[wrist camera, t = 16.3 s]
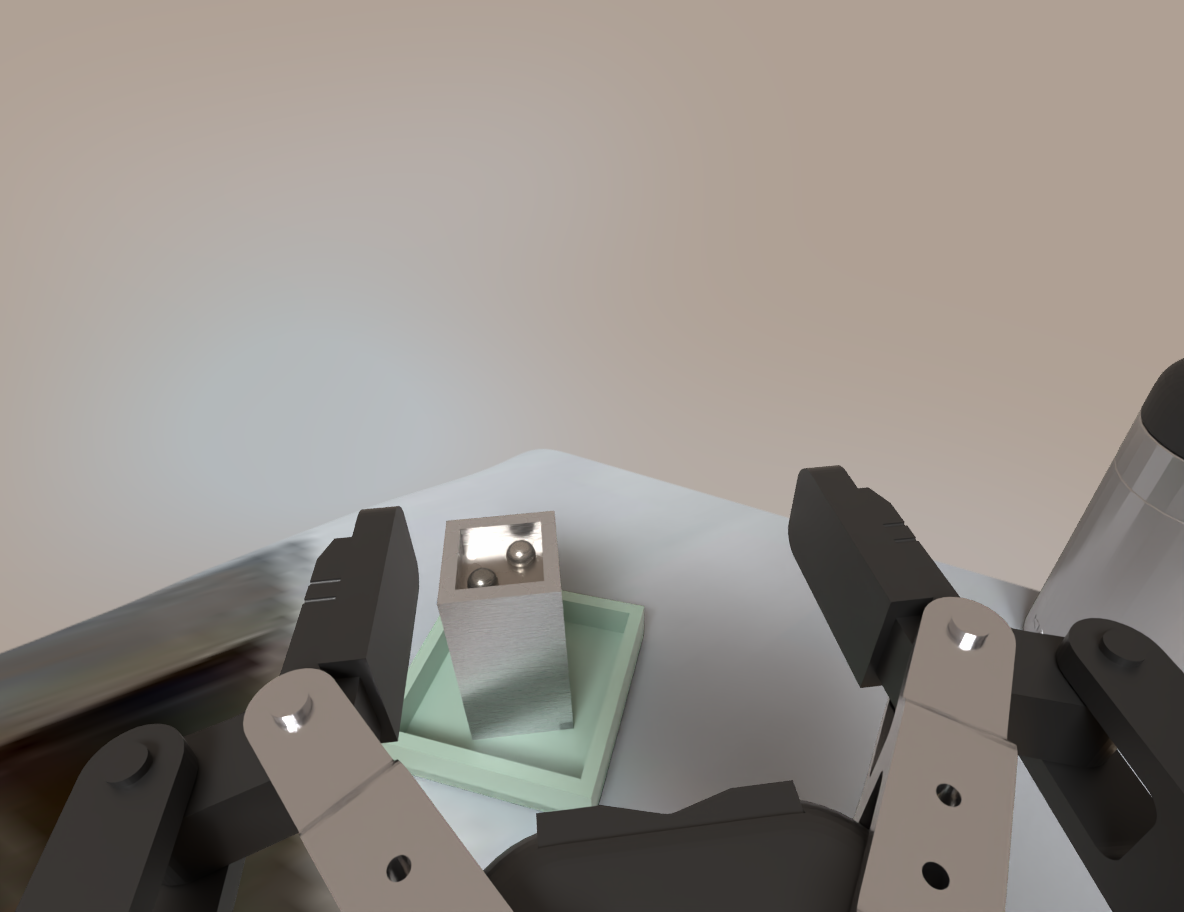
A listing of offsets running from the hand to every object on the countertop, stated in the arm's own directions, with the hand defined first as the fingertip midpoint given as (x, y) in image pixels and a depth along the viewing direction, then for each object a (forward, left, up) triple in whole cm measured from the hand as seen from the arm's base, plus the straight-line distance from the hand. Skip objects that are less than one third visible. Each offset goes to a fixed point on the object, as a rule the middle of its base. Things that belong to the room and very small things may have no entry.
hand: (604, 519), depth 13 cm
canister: (+4, -15, -27) cm, 31 cm away
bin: (+4, -15, -28) cm, 32 cm away
